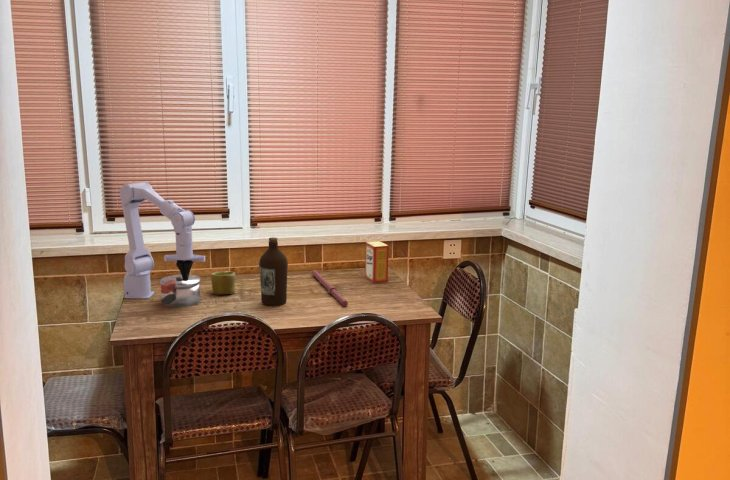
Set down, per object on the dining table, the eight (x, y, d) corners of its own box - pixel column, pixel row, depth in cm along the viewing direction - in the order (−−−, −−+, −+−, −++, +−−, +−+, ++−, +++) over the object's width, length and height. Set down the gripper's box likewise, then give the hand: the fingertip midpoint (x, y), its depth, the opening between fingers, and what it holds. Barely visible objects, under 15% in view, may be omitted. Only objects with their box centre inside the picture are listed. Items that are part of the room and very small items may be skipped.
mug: (232, 293, 248) (226, 268, 249) (209, 299, 251) (203, 274, 251) (246, 290, 260) (240, 266, 260) (224, 296, 263) (218, 272, 263)
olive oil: (271, 296, 252) (270, 233, 246) (293, 300, 247) (293, 237, 241) (254, 303, 243) (252, 239, 237) (276, 308, 238) (275, 242, 232)
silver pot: (172, 294, 252) (171, 277, 250) (206, 296, 250) (205, 279, 248) (147, 311, 233) (146, 292, 231) (184, 313, 230) (183, 295, 229)
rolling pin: (349, 307, 242) (349, 299, 241) (341, 308, 241) (341, 300, 240) (317, 275, 283) (317, 268, 282) (310, 275, 282) (310, 269, 281)
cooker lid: (170, 276, 250) (170, 268, 250) (206, 278, 248) (206, 270, 248) (145, 292, 230) (144, 284, 229) (183, 294, 228) (183, 286, 228)
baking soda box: (364, 276, 281) (365, 241, 277) (378, 275, 283) (379, 240, 279) (373, 282, 272) (374, 246, 268) (387, 281, 275) (388, 244, 271)
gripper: (207, 242, 236) (208, 277, 239) (167, 241, 236) (169, 276, 239) (202, 246, 229) (203, 283, 232) (161, 245, 229) (163, 282, 232)
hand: (185, 280), depth 235 cm, fingers closed
